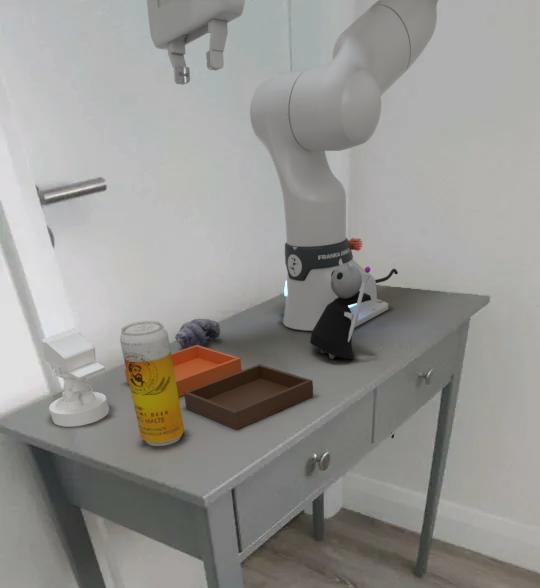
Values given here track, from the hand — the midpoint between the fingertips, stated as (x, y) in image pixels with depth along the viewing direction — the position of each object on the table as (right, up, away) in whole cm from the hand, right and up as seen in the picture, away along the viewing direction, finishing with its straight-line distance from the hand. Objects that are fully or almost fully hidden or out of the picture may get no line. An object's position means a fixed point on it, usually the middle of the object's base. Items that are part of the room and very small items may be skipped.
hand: (198, 76), depth 89 cm
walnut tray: (+7, -43, +9) cm, 44 cm away
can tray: (-4, -35, +19) cm, 40 cm away
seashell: (-3, -25, +32) cm, 41 cm away
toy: (+22, -30, +23) cm, 44 cm away
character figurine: (-19, -45, +10) cm, 49 cm away
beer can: (-5, -50, +1) cm, 51 cm away
